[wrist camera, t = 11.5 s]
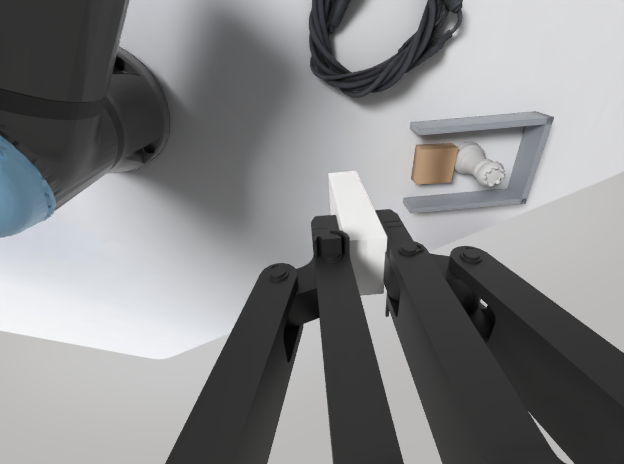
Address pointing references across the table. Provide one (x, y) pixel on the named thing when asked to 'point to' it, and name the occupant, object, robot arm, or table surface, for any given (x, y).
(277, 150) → the table surface
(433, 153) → the walnut tile
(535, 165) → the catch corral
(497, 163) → the rook chess piece
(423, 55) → the cable
